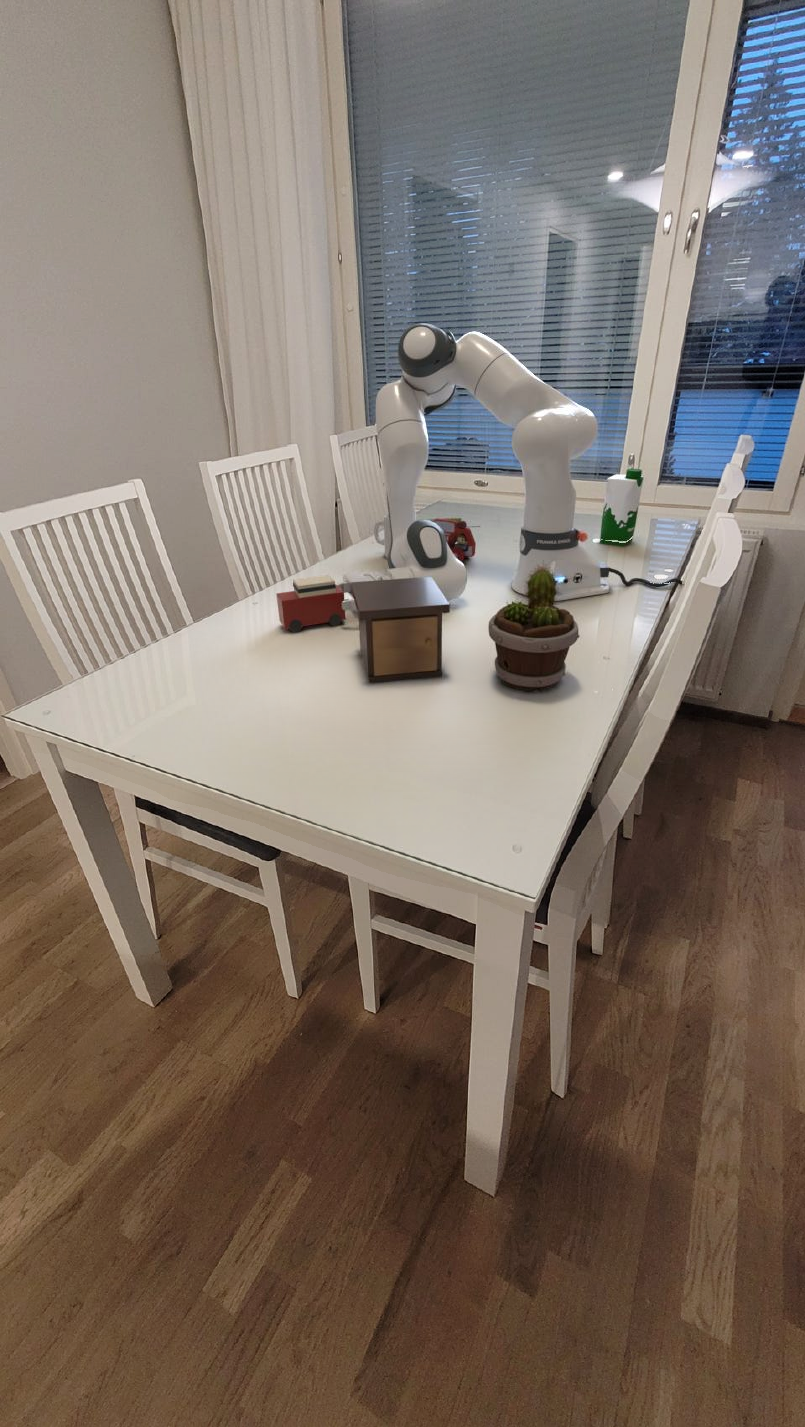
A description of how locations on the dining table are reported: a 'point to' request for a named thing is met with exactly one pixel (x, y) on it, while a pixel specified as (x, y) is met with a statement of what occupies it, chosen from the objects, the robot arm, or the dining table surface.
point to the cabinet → (400, 628)
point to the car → (311, 603)
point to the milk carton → (621, 507)
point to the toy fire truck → (458, 538)
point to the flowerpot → (533, 636)
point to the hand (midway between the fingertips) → (334, 598)
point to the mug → (386, 532)
